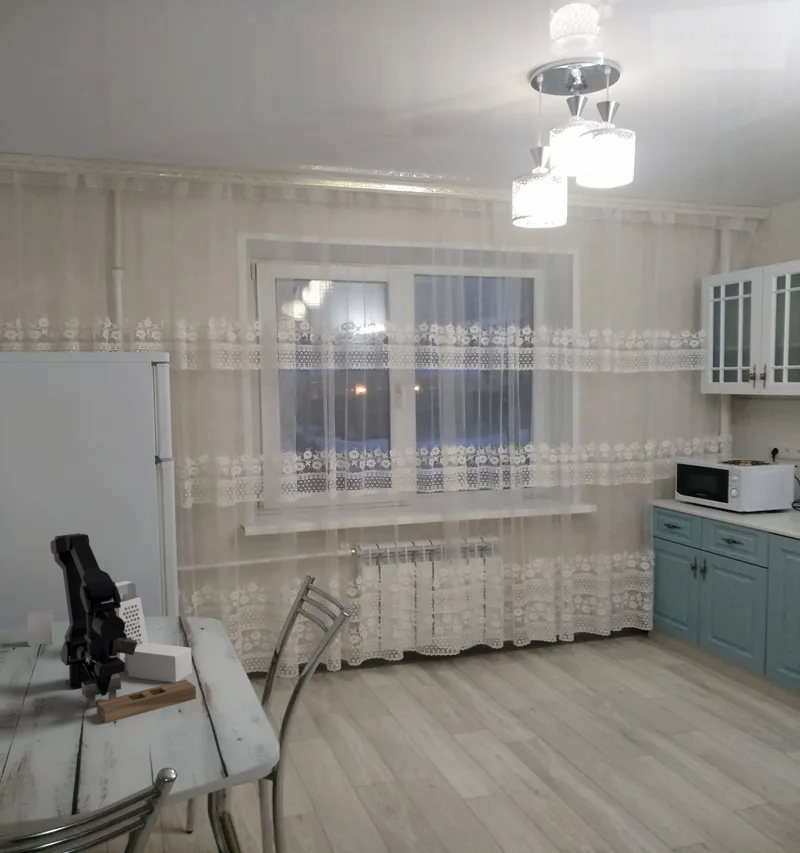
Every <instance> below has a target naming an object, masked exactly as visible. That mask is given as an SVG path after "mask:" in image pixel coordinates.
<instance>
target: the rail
mask: <svg viewBox="0 0 800 853" xmlns="http://www.w3.org/2000/svg"><path fill="white" fill-rule="evenodd" d="M196 688H197V686H195V685H194V684H193V683H192V682H190V681H189V680H187V679H182V680H180V681H178V682H174V683H172V682H169V683H166V684H164V685H158V686H156V687H151V688H148V689H144V690H140V691H136V692H131V693H128V694H123V695H120V696H116V697H115V698H111V699H108V698H107V699H105V700H104V699H103V700H100V701H97V702H96V714H97V716H98V718H100V719H101V720H102V721H103V722H104V723H105V724H107V723H110V722H115V721H119V720H121V719H126V718H128V717H133V716H137V715H140V714H144V713H148V712H150V711H155V710H158V709H161V708H166V707H169V706H172V705H173V706H174V705H176V704H180V703H184V702H187V701H191V700H195V699H197V689H196Z"/></svg>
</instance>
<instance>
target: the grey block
mask: <svg viewBox="0 0 800 853" xmlns="http://www.w3.org/2000/svg"><path fill="white" fill-rule="evenodd" d="M118 690H122V678H121V676H120V675H119V673H118V674H114V675H112V677H111V680H110V683H109V687H108V691H107V697H108V698H107V700H108V699H111V698H115V697H117V691H118ZM81 695H82V696H83V697H84V698H85V699H86V700H87V701H86V703H87V704H86V705H87V707H88V708H89V709H91V708H94V707H97V702H96V696H98V695H101V693H100V691H99V689H98V686H97V684H96V682H95V679H91V680H87V681H83V682H82V687H81Z"/></svg>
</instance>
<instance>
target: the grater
mask: <svg viewBox="0 0 800 853" xmlns="http://www.w3.org/2000/svg"><path fill="white" fill-rule="evenodd" d="M115 585H116V586H117V588H118V587H121V586H124V585H127V593H121V594H120V593H119V595H120V598H121V602H120V605H121V608H115V609H114V610H115V611H116V615H117V616H118V617H120V618H121V619H122V620H123V621H124V623H125V630H124V632H125V633H126V634H127V638H131V639H133V640H134V641H136V642H137V644H138V643H144V642H145V643H150V642H149V637H148V632H147V626H146V620H145V616H144V611H143V605H142V599H141V596H138V595H137V590H136V589H137V586H136V584H135V583H134V582H133V581H127V580H123V581H119V582H115ZM108 602H113V598H112V600H111V601H108ZM102 603H107V602H102ZM129 608H130V609H129ZM113 657H118V658H119V659H121V660H123V659H125V654H124V653H118V652H117V656H110V658H113Z"/></svg>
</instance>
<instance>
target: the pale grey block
mask: <svg viewBox="0 0 800 853" xmlns="http://www.w3.org/2000/svg"><path fill="white" fill-rule="evenodd" d="M53 614H54V613H53V609H48V610H47V609H46V610H38V611H28V612H27V625H26V626H27V628H26V629H27V646H28V645H38V644H51V645H54V642H55V634H54V631H55V630H54V616H53ZM53 641H54V642H53Z"/></svg>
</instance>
